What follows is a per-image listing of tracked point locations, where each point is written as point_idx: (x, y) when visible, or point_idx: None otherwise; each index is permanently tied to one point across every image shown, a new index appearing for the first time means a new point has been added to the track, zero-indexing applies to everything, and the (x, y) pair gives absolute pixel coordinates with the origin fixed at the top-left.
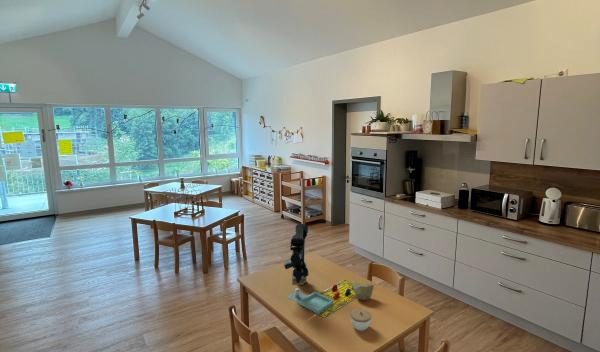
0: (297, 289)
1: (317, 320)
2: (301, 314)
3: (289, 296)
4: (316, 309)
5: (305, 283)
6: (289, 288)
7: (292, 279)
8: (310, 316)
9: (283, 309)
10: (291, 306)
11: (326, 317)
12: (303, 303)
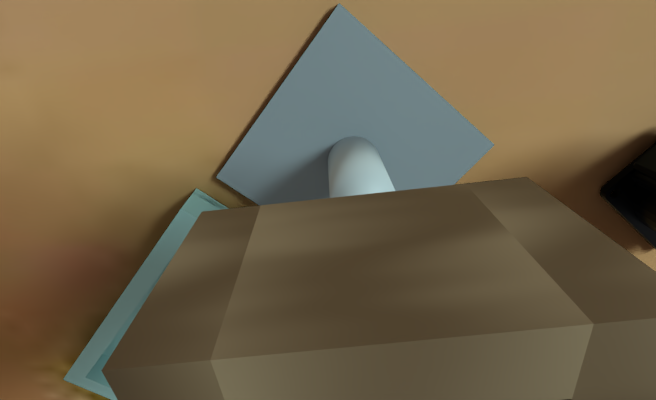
0: None
1: (4, 346)
2: (31, 225)
3: (350, 58)
4: (80, 369)
5: (644, 231)
6: (589, 29)
7: (120, 349)
8: (35, 299)
9: (42, 2)
10: (144, 106)
11: (74, 395)
12: (149, 259)
